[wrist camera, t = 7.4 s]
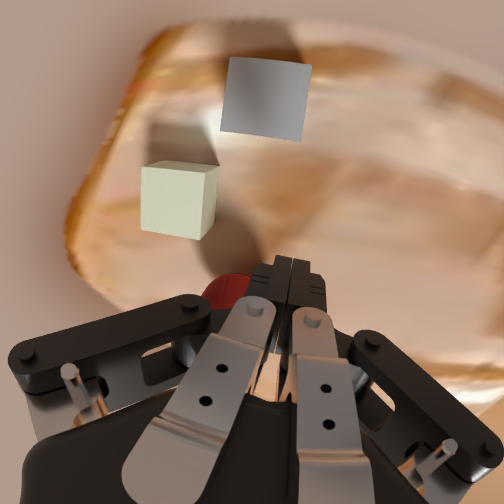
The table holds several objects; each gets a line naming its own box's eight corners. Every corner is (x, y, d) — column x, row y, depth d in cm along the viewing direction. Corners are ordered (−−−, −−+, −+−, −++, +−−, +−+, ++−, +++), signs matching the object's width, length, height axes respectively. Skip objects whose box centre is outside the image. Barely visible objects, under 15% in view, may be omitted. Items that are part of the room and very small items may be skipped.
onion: (239, 321, 29) (219, 380, 22) (200, 279, 28) (167, 331, 20) (287, 294, 27) (280, 353, 19) (247, 246, 25) (225, 295, 18)
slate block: (245, 70, 20) (229, 56, 15) (309, 78, 19) (311, 65, 15) (236, 130, 22) (220, 131, 17) (300, 139, 21) (300, 142, 17)
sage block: (164, 159, 24) (141, 166, 20) (220, 165, 23) (204, 173, 20) (162, 214, 26) (140, 229, 22) (214, 223, 25) (200, 240, 22)
